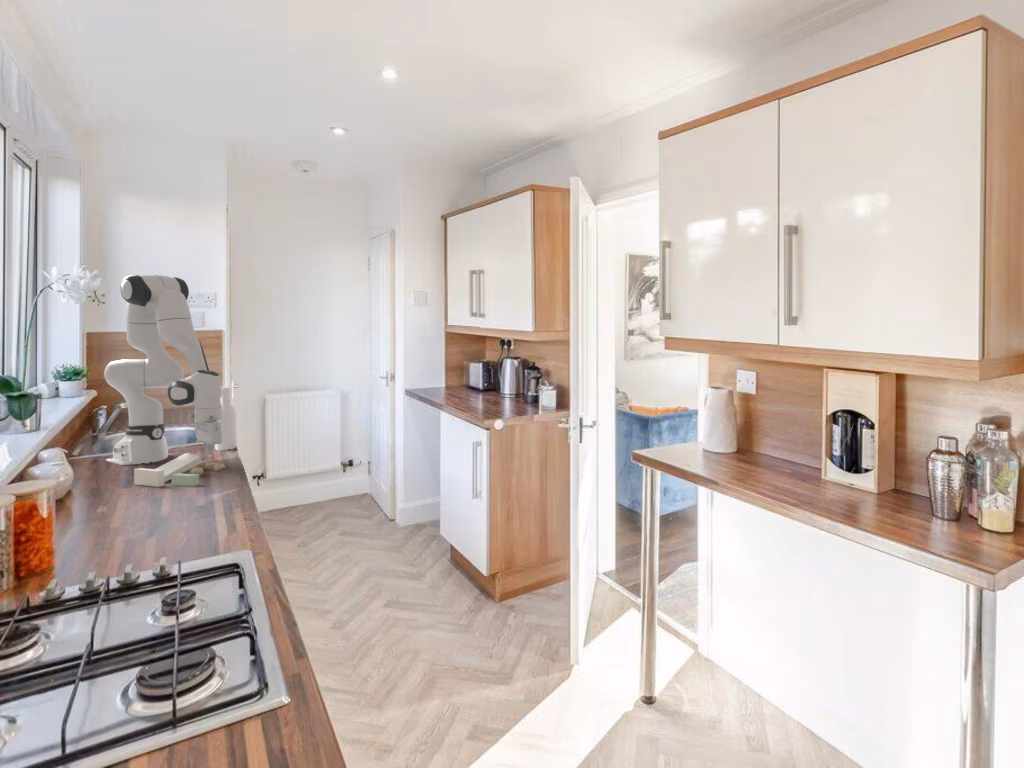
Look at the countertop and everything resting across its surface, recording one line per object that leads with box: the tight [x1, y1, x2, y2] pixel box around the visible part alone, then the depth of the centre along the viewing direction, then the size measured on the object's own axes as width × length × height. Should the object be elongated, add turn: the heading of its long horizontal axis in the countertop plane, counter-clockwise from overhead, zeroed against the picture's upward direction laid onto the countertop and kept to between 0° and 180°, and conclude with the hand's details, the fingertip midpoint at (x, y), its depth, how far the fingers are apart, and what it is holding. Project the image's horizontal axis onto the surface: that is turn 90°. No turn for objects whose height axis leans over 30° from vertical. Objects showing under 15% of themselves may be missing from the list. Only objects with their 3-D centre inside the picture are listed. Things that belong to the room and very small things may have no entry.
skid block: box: [170, 473, 200, 487], centre depth 189 cm, size 8×3×4 cm, turn 75°
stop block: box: [133, 467, 165, 488], centre depth 189 cm, size 11×2×5 cm, turn 68°
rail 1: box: [182, 466, 205, 477], centre depth 201 cm, size 12×4×4 cm, turn 68°
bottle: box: [214, 386, 237, 451], centre depth 239 cm, size 8×8×30 cm
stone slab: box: [155, 452, 203, 484], centre depth 199 cm, size 9×14×2 cm, turn 146°
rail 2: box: [196, 460, 226, 472], centre depth 210 cm, size 12×4×4 cm, turn 68°
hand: (208, 453), depth 210 cm, fingers closed
